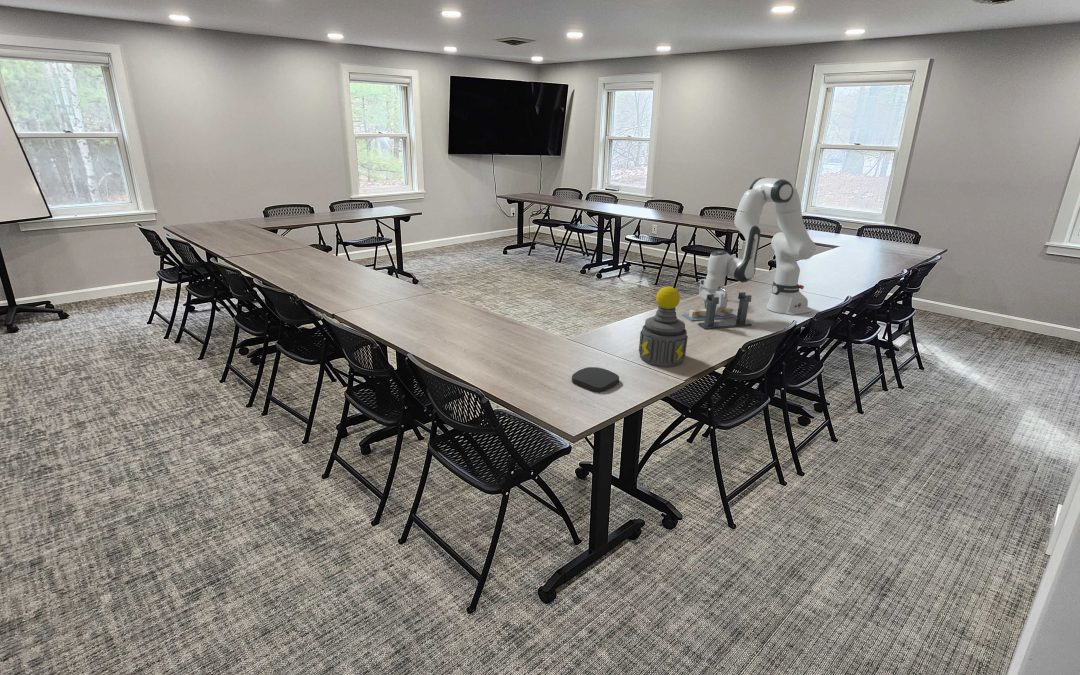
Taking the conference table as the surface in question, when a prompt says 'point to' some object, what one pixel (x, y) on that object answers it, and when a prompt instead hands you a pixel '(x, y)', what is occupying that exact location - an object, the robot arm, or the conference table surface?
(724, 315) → the mat
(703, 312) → the rail
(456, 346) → the conference table surface
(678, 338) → the decorative lamp
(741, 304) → the hook rack
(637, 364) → the conference table surface
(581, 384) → the media streaming box
